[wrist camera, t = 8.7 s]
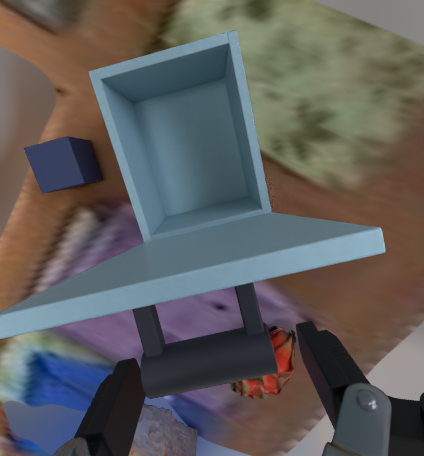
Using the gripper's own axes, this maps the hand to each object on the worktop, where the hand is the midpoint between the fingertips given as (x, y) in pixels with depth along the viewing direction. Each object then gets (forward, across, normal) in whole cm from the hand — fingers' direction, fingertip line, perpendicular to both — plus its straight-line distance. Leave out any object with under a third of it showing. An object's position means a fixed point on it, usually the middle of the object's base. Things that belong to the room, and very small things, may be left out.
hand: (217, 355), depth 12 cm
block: (+23, +15, -13) cm, 30 cm away
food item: (+23, +17, +30) cm, 41 cm away
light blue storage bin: (+23, 0, -11) cm, 25 cm away
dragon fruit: (+23, -2, +19) cm, 30 cm away
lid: (+5, 0, -5) cm, 7 cm away
